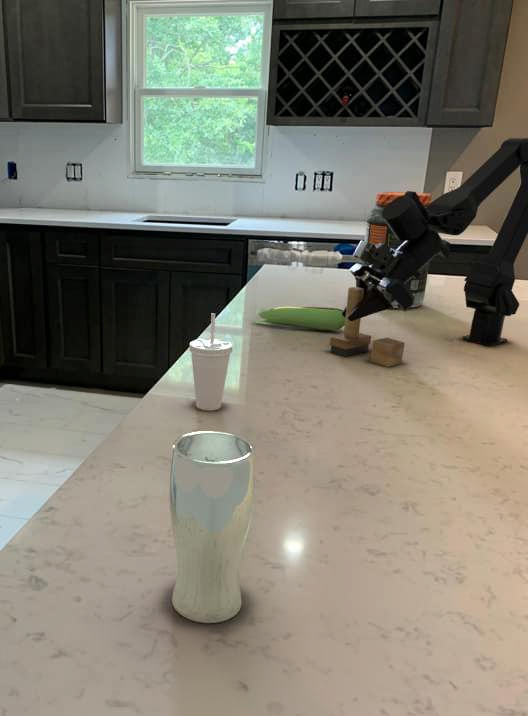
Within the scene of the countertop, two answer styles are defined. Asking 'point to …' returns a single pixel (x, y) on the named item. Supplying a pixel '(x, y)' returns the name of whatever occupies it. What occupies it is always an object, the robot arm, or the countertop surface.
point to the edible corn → (305, 317)
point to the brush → (351, 329)
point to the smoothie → (210, 369)
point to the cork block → (387, 352)
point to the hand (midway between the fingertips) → (345, 317)
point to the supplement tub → (395, 240)
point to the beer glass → (210, 521)
